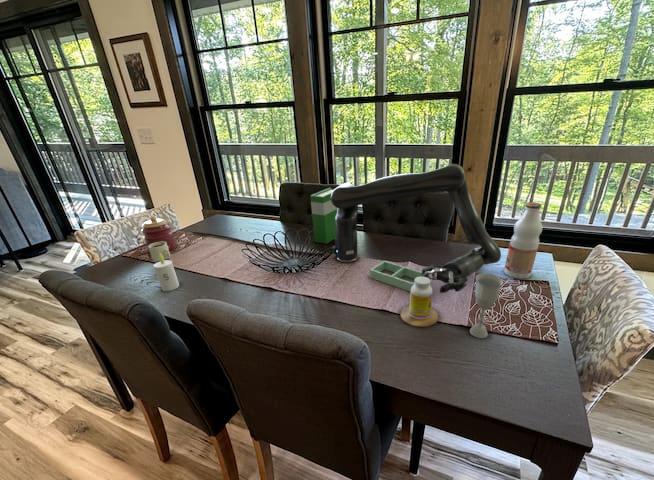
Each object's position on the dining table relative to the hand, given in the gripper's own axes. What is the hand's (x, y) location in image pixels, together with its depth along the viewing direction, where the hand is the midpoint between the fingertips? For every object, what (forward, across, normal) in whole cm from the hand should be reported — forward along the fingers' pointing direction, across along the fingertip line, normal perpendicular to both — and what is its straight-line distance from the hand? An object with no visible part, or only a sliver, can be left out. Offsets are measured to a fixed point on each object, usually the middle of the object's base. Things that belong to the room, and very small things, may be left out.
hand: (429, 285), depth 99 cm
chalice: (-2, +17, +10) cm, 20 cm away
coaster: (+4, 0, +10) cm, 11 cm away
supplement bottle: (+4, 0, +10) cm, 10 cm away
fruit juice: (-46, +7, +10) cm, 48 cm away
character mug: (+61, -95, +10) cm, 113 cm away
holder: (-8, -21, +10) cm, 25 cm away
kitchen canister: (+56, -124, +10) cm, 137 cm away
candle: (+63, -78, +10) cm, 101 cm away
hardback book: (-16, -77, +10) cm, 80 cm away
